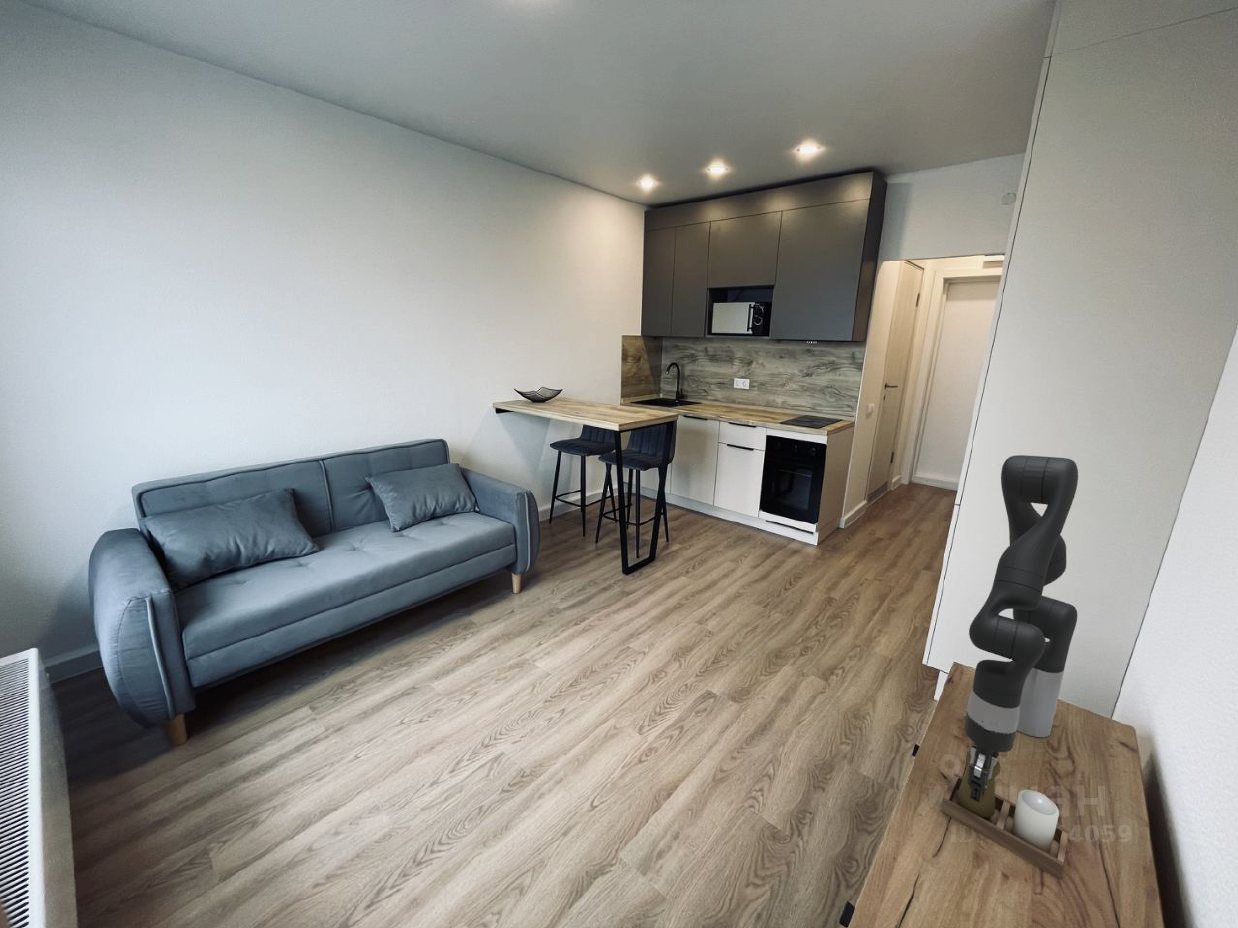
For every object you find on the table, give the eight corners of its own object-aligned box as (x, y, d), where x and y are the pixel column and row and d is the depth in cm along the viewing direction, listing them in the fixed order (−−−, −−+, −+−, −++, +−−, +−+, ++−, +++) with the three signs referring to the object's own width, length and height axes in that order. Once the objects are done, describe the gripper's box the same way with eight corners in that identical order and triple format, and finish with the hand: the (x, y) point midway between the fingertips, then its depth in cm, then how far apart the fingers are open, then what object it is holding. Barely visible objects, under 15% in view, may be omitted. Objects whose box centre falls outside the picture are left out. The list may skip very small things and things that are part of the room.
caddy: (952, 787, 102) (954, 772, 101) (1064, 846, 89) (1068, 830, 89) (940, 814, 96) (942, 799, 95) (1059, 882, 83) (1063, 865, 82)
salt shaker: (1013, 822, 93) (1022, 777, 91) (1051, 842, 89) (1062, 796, 87) (1008, 841, 89) (1017, 795, 87) (1048, 863, 85) (1059, 815, 83)
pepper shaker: (1001, 819, 91) (1011, 770, 89) (965, 813, 93) (974, 765, 90) (984, 792, 97) (993, 745, 95) (951, 787, 98) (959, 740, 96)
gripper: (975, 689, 98) (963, 761, 102) (958, 725, 89) (945, 803, 92) (1023, 708, 93) (1008, 783, 97) (1010, 748, 84) (994, 830, 87)
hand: (977, 793), depth 95 cm, fingers closed on pepper shaker, 3 cm apart
